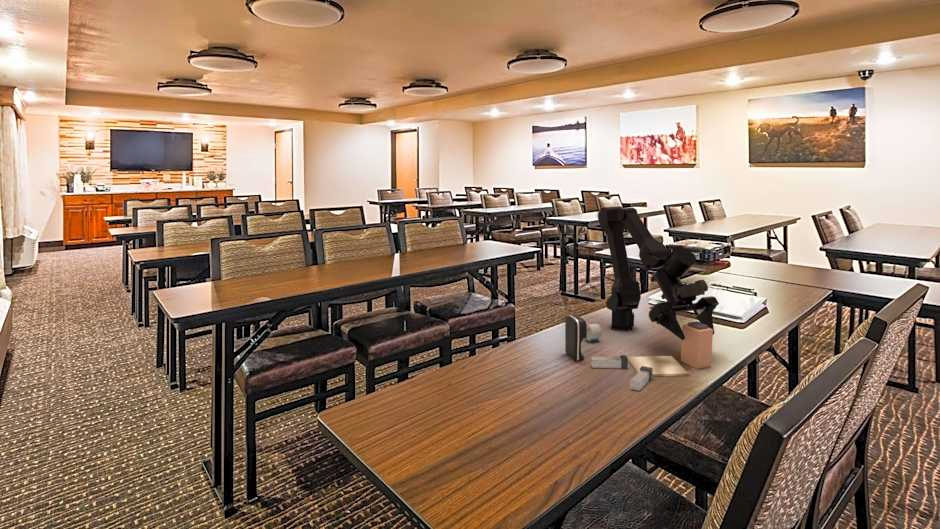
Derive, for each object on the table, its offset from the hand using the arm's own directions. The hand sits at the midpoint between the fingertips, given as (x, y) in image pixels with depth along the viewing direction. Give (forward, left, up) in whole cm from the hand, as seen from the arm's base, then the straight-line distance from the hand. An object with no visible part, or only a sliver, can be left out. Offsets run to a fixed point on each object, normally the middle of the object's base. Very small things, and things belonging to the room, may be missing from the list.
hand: (698, 337), depth 136 cm
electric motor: (-28, +13, -8) cm, 32 cm away
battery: (-31, -1, -8) cm, 32 cm away
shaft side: (-22, -6, -7) cm, 24 cm away
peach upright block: (0, 0, -7) cm, 8 cm away
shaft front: (-14, -15, -7) cm, 22 cm away
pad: (-10, -4, -7) cm, 13 cm away
